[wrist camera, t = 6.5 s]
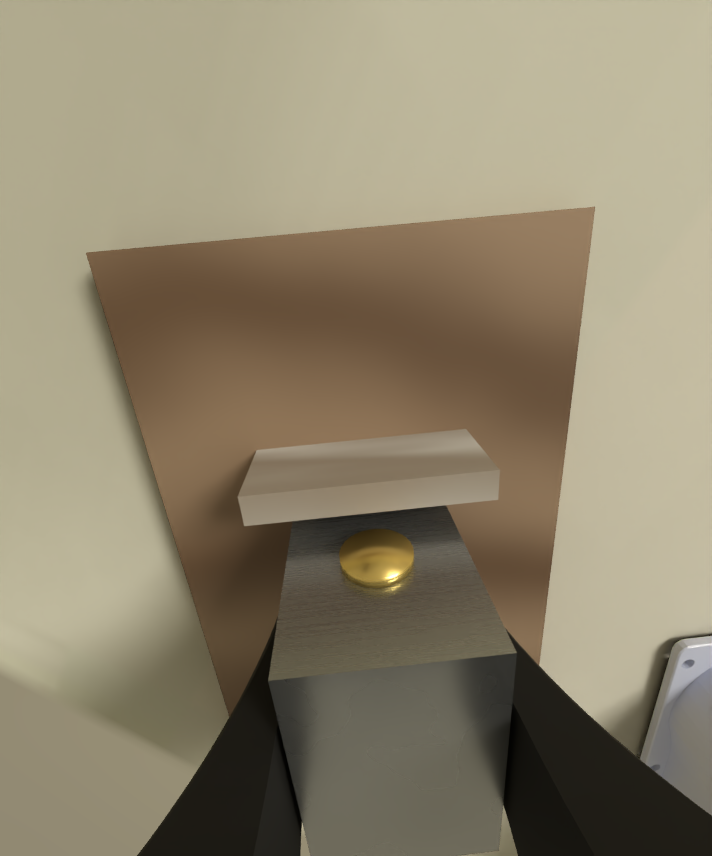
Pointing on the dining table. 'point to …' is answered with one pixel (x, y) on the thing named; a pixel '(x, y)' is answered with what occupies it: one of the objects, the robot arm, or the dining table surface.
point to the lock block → (392, 687)
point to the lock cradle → (353, 398)
